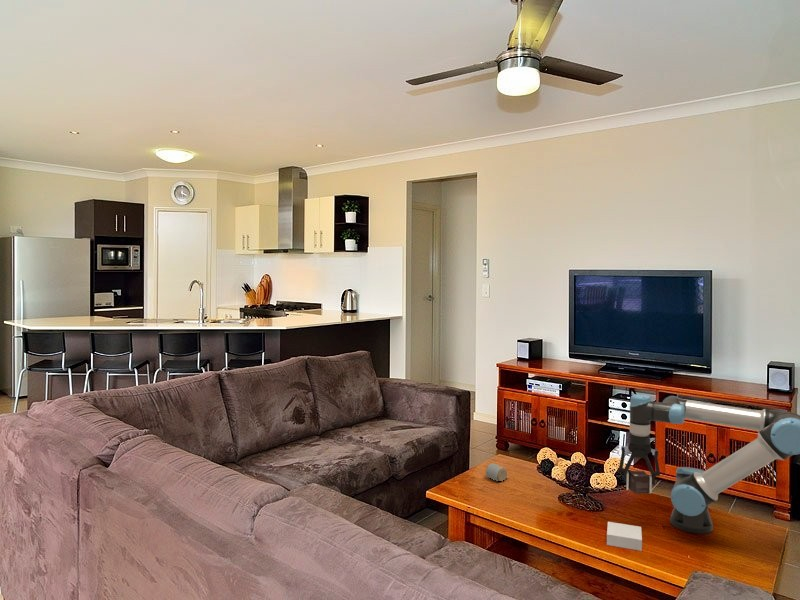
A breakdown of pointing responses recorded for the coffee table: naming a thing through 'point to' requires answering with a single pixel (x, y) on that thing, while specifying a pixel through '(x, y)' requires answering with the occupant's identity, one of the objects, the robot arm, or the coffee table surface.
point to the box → (639, 482)
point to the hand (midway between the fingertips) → (638, 490)
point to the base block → (624, 536)
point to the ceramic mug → (496, 472)
